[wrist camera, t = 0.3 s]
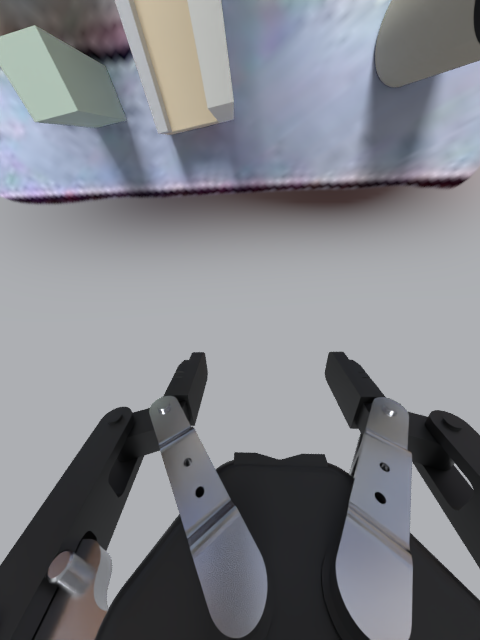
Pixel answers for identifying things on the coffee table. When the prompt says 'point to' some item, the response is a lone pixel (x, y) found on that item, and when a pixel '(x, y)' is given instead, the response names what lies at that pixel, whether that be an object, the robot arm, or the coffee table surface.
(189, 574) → the robot arm
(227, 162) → the coffee table surface
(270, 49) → the coffee table surface
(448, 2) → the travel mug
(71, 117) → the pale green block
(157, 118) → the white display stand
